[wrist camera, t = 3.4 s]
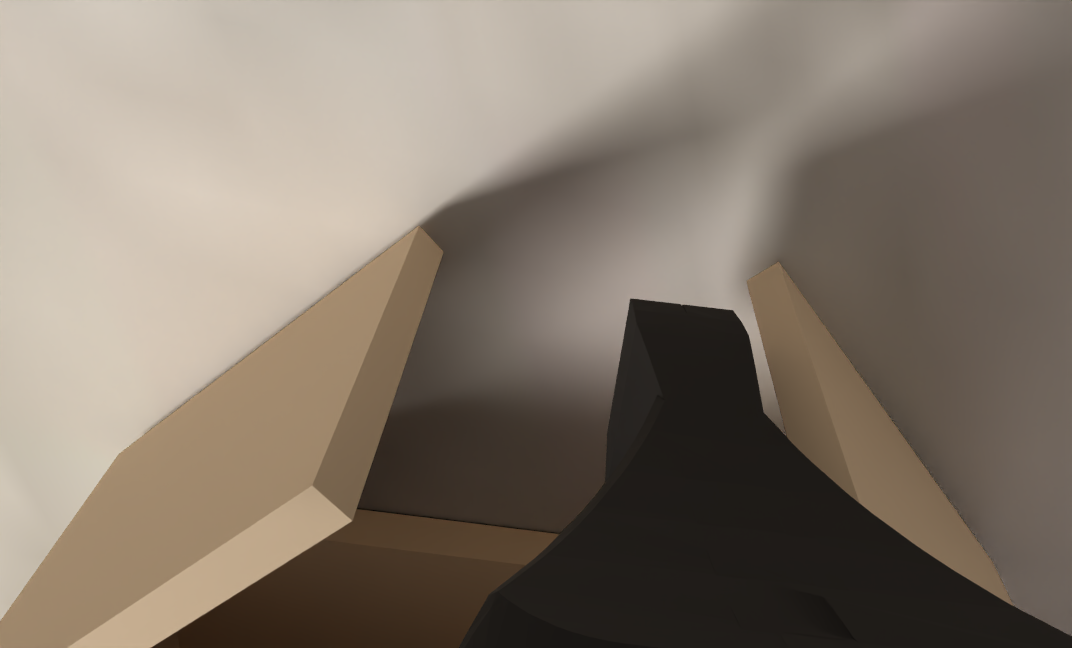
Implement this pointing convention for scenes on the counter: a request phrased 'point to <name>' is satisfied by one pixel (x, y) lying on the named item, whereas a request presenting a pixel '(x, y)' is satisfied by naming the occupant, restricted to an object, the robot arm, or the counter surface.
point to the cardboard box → (371, 588)
